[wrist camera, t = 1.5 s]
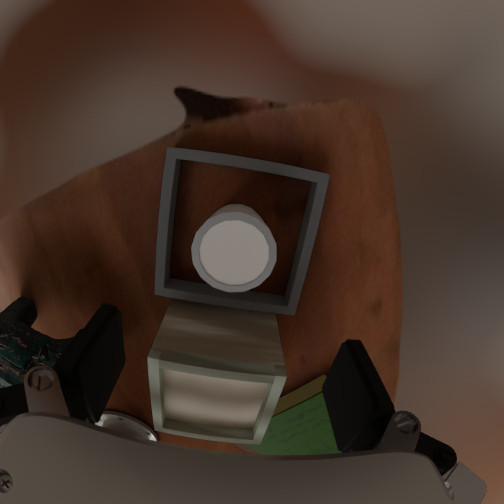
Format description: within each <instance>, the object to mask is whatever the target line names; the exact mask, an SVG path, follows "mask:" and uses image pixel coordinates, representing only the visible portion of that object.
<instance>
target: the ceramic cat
mask: <svg viewBox="0 0 504 504" xmlns="http://www.w3.org/2000/svg"><path fill="white" fill-rule="evenodd" d="M36 318H37V315H36V309H35V306H34V301H33V300H27V299H24V298H22V297H19V298H18V299H17V300H15V301H14V302H13V303H11V304H10V305H9V306H8V307H7V308H6V309H5V310H4V311H2V312H1V313H0V388H3V387H8V386H12V385H16V384H20V383H24V377H25V374H26V373H27V372H28V371H29V370H30V369H31V368H33V367H36V366H48V367H50V368H52V367H53V366H54V365H55V363H56V362H57V360H58V359H59V357H60V356H61V355H62V353H63V352H64V350H65V349H66V348H67V346H68V345H69V344H70V342H71V341H72V339H73V338H74V337H75V336H74V337H71V338H67V339H53V338H51V337H49V336H47V335H44V334H42V333H40V332H38V331H36V330H34V329H33V328H31V326H32V324H33V323H34V321H35V320H36Z"/></svg>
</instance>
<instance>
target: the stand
mask: <svg viewBox="0 0 504 504" xmlns="http://www.w3.org/2000/svg"><path fill="white" fill-rule="evenodd" d="M147 359H148V374H149V386H150V396H151V406H152V415H153V423H154V430H155V431H160V432H164V433H169V434H175V435H180V436H186V437H192V438H198V439H205V440H213V441H222V442H231V443H244V444H260V443H261V441H262V439H263V436H264V434H265V432H266V429H267V427H268V424H269V422H270V420H271V417H272V415H273V412H274V410H275V407H276V405H277V402H278V399H279V397H280V394H281V392H282V389H283V386H284V384H285V381H286V378H287V374H286V368H285V362H284V357H283V352H282V346H281V341H280V335H279V330H278V324H277V319H276V314H275V313H268V312H260V311H252V310H245V309H238V308H231V307H224V306H218V305H211V304H205V303H199V302H193V301H187V300H181V299H176V298H172V300H171V302H170V305H169V307H168V309H167V312H166V314H165V316H164V318H163V321H162V323H161V325H160V328H159V330H158V333H157V335H156V337H155V340H154V342H153V345H152V347H151V349H150V352H149V354H148V357H147Z"/></svg>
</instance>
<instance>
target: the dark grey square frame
mask: <svg viewBox="0 0 504 504" xmlns="http://www.w3.org/2000/svg"><path fill="white" fill-rule="evenodd" d="M182 160H190V161H198V162H205V163H212V164H219V165H226V166H233V167H239V168H245V169H251V170H256V171H262V172H268V173H273V174H278V175H283V176H288V177H293V178H298V179H303V180H308V181H311V185H310V189H309V194H308V199H307V203H306V208H305V212H304V217H303V221H302V225H301V230H300V234H299V238H298V243H297V247H296V251H295V255H294V259H293V263H292V267H291V272H290V276H289V280H288V283H287V287H286V291H285V295H278V294H271V293H263V292H256V291H249V290H247V291H245V292H226V291H223V290H220V289H217V288H214V287H212V286H211V285H210V284H204V283H197V282H191V281H185V280H180V279H174V278H169V276H170V261H171V248H172V236H173V226H174V216H175V207H176V198H177V190H178V182H179V175H180V168H181V161H182ZM329 177H330V175H329V174H326V173H323V172H318V171H314V170H310V169H305V168H300V167H296V166H291V165H286V164H281V163H276V162H271V161H265V160H260V159H254V158H249V157H243V156H236V155H230V154H223V153H216V152H209V151H202V150H194V149H185V148H176V147H167V152H166V158H165V166H164V173H163V181H162V190H161V199H160V209H159V220H158V233H157V247H156V266H155V295H159V296H165V297H170V298H176V299H181V300H187V301H193V302H199V303H205V304H211V305H218V306H224V307H231V308H238V309H245V310H252V311H260V312H268V313H276V314H284V315H293V316H294V315H295V312H296V308H297V305H298V301H299V298H300V294H301V291H302V287H303V284H304V280H305V276H306V273H307V269H308V265H309V261H310V257H311V254H312V250H313V246H314V242H315V238H316V234H317V230H318V226H319V221H320V217H321V213H322V209H323V204H324V200H325V195H326V191H327V186H328V182H329Z"/></svg>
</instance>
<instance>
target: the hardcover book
mask: <svg viewBox="0 0 504 504" xmlns="http://www.w3.org/2000/svg"><path fill="white" fill-rule="evenodd" d="M325 379H326V376H325V375H324V374H323V375H321V376H319V377H318V378H316V379H314V380H312V381H311V382H309V383H307V384H305V385H303V386H302V387H300V388H298V389H296V390H294V391H292V392H290V393H288V394H286V395H284V396H282V397H280V398H279V399H278V402H277V405H276V407H275V410H274V412H273V415H272V417H271V420H270V422H269V424H268V427H267V429H266V432H265V434H264V436H263V439H262V441H261V443H260V444H244V443H233V444H234V445H236V446H238V447H240V448H242V449H243V450H245V451H247V452H249V453H251V454H255V455H317V454H333V453H342V452H341V451H339V450H338V448H337V445H336V441H335V437H334V433H333V430H332V426H331V422H330V418H329V415H328V411H327V407H326V404H325V400H324V397H323V393H322V386H323V383H324V381H325Z"/></svg>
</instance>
